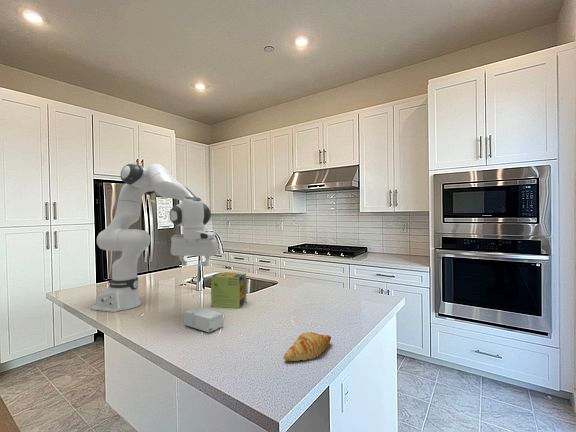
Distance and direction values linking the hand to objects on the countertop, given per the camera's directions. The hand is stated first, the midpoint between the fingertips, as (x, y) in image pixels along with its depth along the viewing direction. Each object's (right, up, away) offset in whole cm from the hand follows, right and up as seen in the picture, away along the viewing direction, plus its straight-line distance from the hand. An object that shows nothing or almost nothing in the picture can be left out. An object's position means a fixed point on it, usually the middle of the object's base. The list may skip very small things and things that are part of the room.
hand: (194, 265), depth 131 cm
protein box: (+11, -24, +23) cm, 35 cm away
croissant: (+48, -25, -29) cm, 61 cm away
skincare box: (-1, -21, -2) cm, 21 cm away
